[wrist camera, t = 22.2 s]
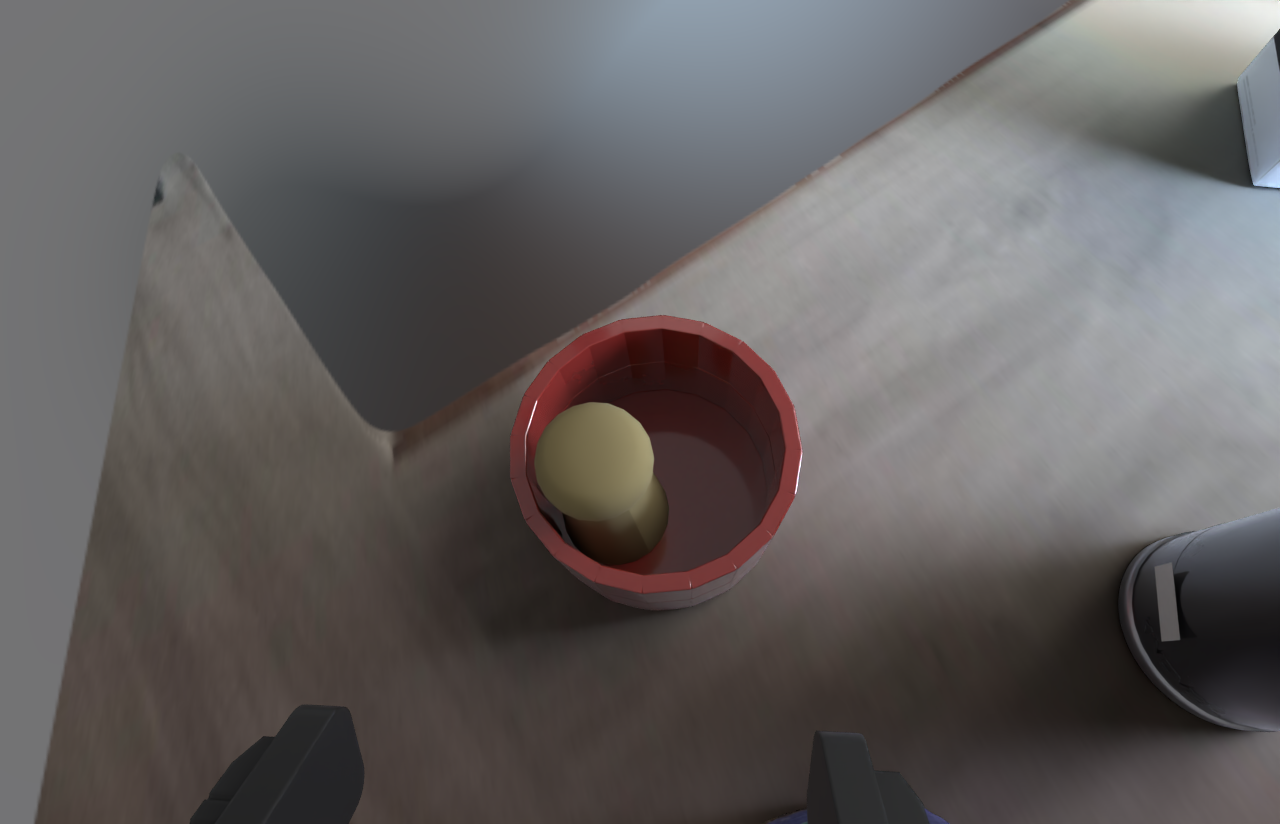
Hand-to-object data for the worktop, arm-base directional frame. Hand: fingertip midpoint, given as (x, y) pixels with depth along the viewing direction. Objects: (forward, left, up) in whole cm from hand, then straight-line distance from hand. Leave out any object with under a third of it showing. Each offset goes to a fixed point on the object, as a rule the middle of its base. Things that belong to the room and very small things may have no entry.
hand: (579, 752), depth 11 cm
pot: (-5, -10, -24) cm, 27 cm away
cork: (-2, -10, -24) cm, 26 cm away
